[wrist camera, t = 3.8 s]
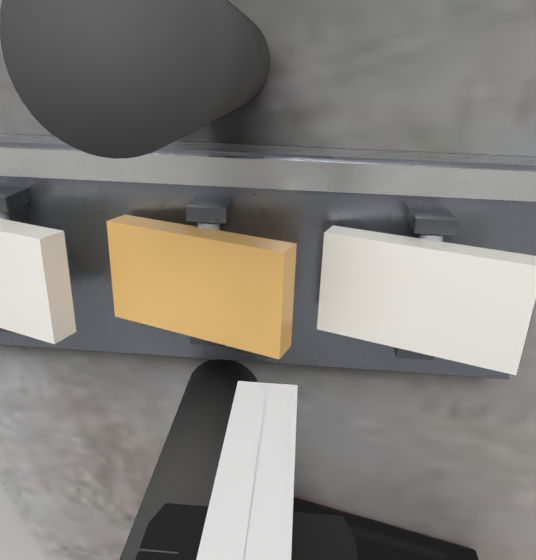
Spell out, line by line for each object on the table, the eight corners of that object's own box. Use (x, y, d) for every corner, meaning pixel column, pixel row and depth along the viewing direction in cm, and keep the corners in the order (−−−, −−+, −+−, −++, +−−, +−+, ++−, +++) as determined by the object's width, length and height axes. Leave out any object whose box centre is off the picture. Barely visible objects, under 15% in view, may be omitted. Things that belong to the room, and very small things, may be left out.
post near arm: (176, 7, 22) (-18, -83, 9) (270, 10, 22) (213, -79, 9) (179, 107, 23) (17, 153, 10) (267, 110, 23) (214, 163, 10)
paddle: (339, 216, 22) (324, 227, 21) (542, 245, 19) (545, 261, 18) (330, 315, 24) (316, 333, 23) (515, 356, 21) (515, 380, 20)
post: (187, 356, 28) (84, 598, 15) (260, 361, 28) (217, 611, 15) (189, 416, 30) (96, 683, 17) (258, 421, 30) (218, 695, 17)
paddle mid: (135, 206, 23) (105, 216, 21) (304, 233, 20) (284, 247, 18) (142, 304, 25) (115, 320, 23) (297, 342, 22) (279, 363, 20)
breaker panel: (-68, 130, 25) (-145, 142, 20) (534, 157, 23) (585, 176, 19) (-29, 318, 28) (-87, 361, 24) (490, 352, 27) (524, 404, 23)
